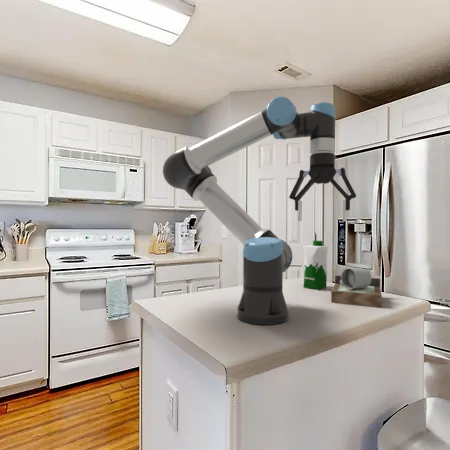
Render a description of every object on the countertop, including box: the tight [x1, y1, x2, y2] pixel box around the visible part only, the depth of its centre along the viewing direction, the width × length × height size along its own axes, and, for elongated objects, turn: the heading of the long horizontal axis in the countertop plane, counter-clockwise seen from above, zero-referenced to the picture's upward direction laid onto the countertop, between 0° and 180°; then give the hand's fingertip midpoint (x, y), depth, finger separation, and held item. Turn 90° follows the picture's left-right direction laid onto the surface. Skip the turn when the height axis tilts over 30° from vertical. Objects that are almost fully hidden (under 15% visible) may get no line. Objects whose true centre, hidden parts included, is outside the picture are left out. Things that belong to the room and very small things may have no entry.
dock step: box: [330, 275, 383, 308], centre depth 118 cm, size 16×16×7 cm
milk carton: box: [302, 240, 329, 291], centre depth 138 cm, size 9×9×20 cm
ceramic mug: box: [340, 267, 372, 289], centre depth 119 cm, size 11×8×8 cm
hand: (321, 221), depth 102 cm, fingers open, 13 cm apart
